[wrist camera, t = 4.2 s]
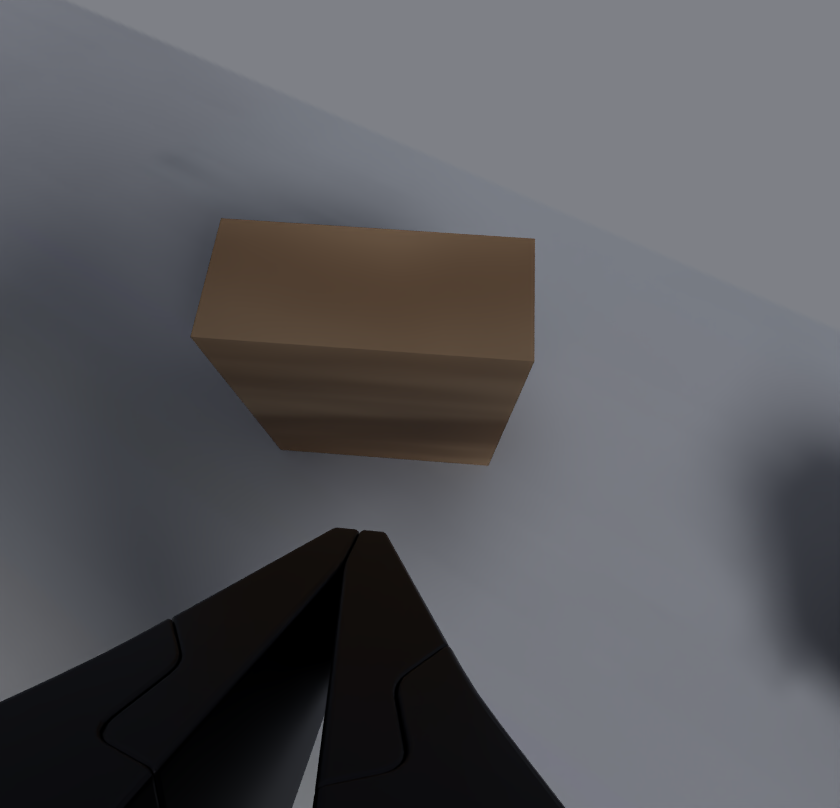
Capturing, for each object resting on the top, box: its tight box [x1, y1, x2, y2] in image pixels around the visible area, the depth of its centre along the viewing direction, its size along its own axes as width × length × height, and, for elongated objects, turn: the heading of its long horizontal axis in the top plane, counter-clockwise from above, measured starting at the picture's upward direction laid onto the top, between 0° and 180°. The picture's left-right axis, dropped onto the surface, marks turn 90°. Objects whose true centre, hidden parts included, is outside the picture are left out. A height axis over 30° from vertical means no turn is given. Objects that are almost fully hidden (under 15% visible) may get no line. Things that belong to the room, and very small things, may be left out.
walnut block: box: [191, 218, 535, 466], centre depth 16 cm, size 3×7×8 cm, turn 85°
